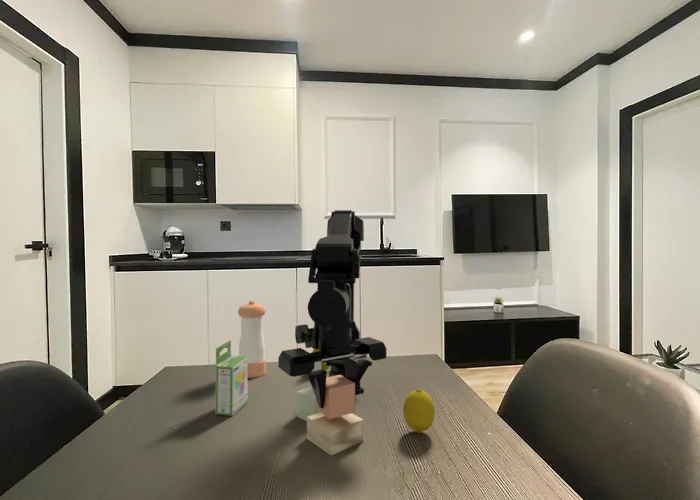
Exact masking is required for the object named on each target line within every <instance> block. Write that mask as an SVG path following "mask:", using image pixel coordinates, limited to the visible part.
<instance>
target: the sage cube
mask: <svg viewBox="0 0 700 500" xmlns="http://www.w3.org/2000/svg"><path fill="white" fill-rule="evenodd" d="M317 413H320V411H319V410H317V409H316V397H315V394H314V391H313V388H312V386H311V385H310V386H308V387H306V388H302V389H300V390H297V391H296V417H297V418H299V419H301V420H303V421H306V422H307V417H308V416H311V415H314V414H317Z"/></svg>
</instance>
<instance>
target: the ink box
mask: <svg viewBox="0 0 700 500" xmlns="http://www.w3.org/2000/svg"><path fill="white" fill-rule="evenodd" d="M231 344H232V340H231V339H230V340H228V341H227V342H225V343H223V344H221V345H219V346H218V347H216V348H215V404H214V405H215V406H214V407H215V409H214V410H215V413H214V414H215V415H216V416H217V415H220V416H227V417H233V416H235V415H236V414H237V413H238V412H239V411H240V410H241V409H242V408H243V406H245V405H246V404H247V403H248V399H249V397H248V395H249V394H248V390H249V389H248V378H247V357H239V355H238V356H234V355H232V345H231ZM224 349H227V351H226V352H224V353H222V354H220V353H221V352H222V351H223V350H224Z"/></svg>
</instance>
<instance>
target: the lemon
mask: <svg viewBox="0 0 700 500" xmlns="http://www.w3.org/2000/svg"><path fill="white" fill-rule="evenodd" d="M403 403H404V404H403V408H402V409H403V418H404V420H405V424H406V425H407V426H408V427H409V428H410V429H411V430H413V431H415V432H416V433H418V434H421V433H422V432H425V431H427V430H428V429H430V428H431V427H432V425H433V423H434V420H435V415H436V409H435V405H434V401H433V398H432V397H431V396H430V394H429V393H427V391H424V390H422V389H421V388H416V389H415V390H412V391H410V392H409V393H408V394H407V396H406V397H405V400H404V402H403Z"/></svg>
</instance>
